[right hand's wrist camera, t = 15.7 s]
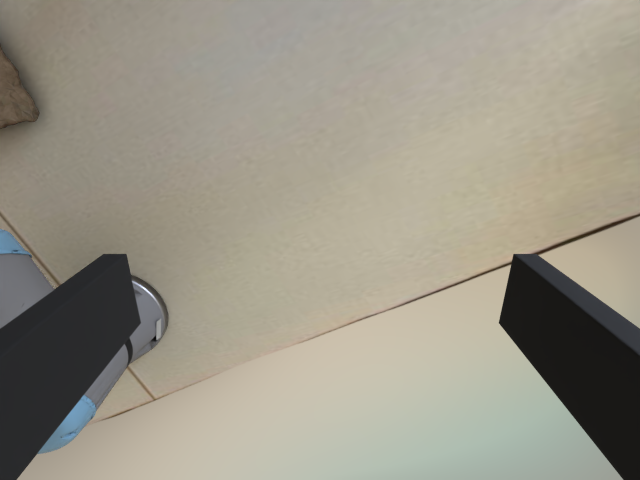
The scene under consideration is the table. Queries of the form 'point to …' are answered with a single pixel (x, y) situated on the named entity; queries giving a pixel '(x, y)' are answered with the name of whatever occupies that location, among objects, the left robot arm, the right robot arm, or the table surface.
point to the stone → (14, 96)
